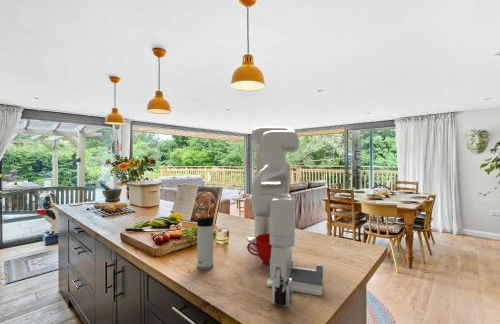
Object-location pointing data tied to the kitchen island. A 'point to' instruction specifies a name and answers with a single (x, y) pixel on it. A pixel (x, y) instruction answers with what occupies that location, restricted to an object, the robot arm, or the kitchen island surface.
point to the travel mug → (205, 243)
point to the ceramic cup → (262, 248)
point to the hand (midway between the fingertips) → (282, 298)
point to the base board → (302, 287)
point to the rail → (307, 275)
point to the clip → (287, 288)
